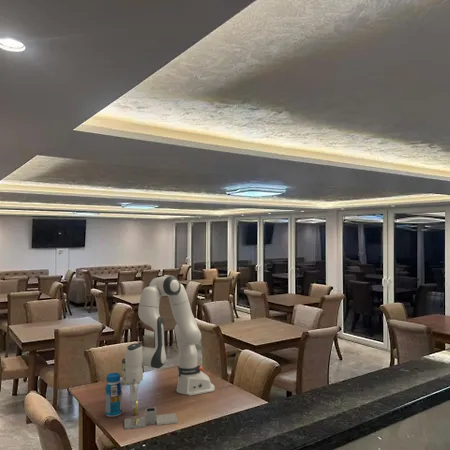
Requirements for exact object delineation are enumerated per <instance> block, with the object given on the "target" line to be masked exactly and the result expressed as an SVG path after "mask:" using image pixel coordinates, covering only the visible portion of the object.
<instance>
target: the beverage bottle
mask: <svg viewBox="0 0 450 450" xmlns="http://www.w3.org/2000/svg"><path fill="white" fill-rule="evenodd" d="M120 381H121V374H120V373H118V372H111V373H108V374H107V375H106V382H107V384H106V385H105V388H104V390H105V393H104V397H105V401H104V402H105V416H107V417H112V418H113V417H118V416H120V415H121V414H122V413H123V401H122V400H123V397H122V395H123V390H122V388H123V387H122V384H121V382H120Z"/></svg>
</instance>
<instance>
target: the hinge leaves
mask: <svg viewBox="0 0 450 450" xmlns="http://www.w3.org/2000/svg"><path fill="white" fill-rule="evenodd" d="M144 413H145V416H141V417H133V418H124V430H131V429H139V428H140V429H141V428H147V426H150V425H156V426H164V425H171V424H178V423H179V421H178V418H177V413H175V412H174V413H173V412H172V413H167V414H159V415H158V414H157V413H158V412H157V407H156V406H153V407H146V408H144ZM156 423H157V424H156ZM163 424H164V425H163Z"/></svg>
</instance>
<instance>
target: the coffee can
mask: <svg viewBox="0 0 450 450" xmlns="http://www.w3.org/2000/svg"><path fill="white" fill-rule="evenodd" d="M125 358H126V357H125ZM125 358H123V359H121V381H122V382H121V383H122V385H125V386H126V385H127V386H129V385H128V382H126V381H125V370H126V364H125Z"/></svg>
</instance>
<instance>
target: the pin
mask: <svg viewBox="0 0 450 450" xmlns="http://www.w3.org/2000/svg"><path fill="white" fill-rule="evenodd" d="M132 410H133V414H132V415H133V416H138V415H139V400H138V401H136V408H132Z"/></svg>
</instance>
